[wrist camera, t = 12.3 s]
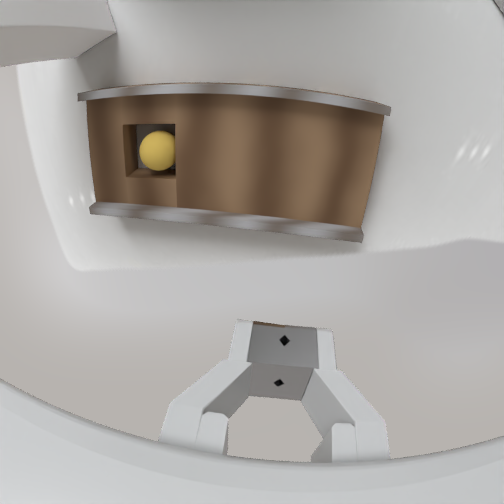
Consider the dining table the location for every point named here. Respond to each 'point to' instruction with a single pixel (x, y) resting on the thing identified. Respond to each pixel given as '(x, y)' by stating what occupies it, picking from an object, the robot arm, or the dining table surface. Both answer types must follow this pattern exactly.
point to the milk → (51, 29)
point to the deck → (238, 156)
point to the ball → (158, 150)
